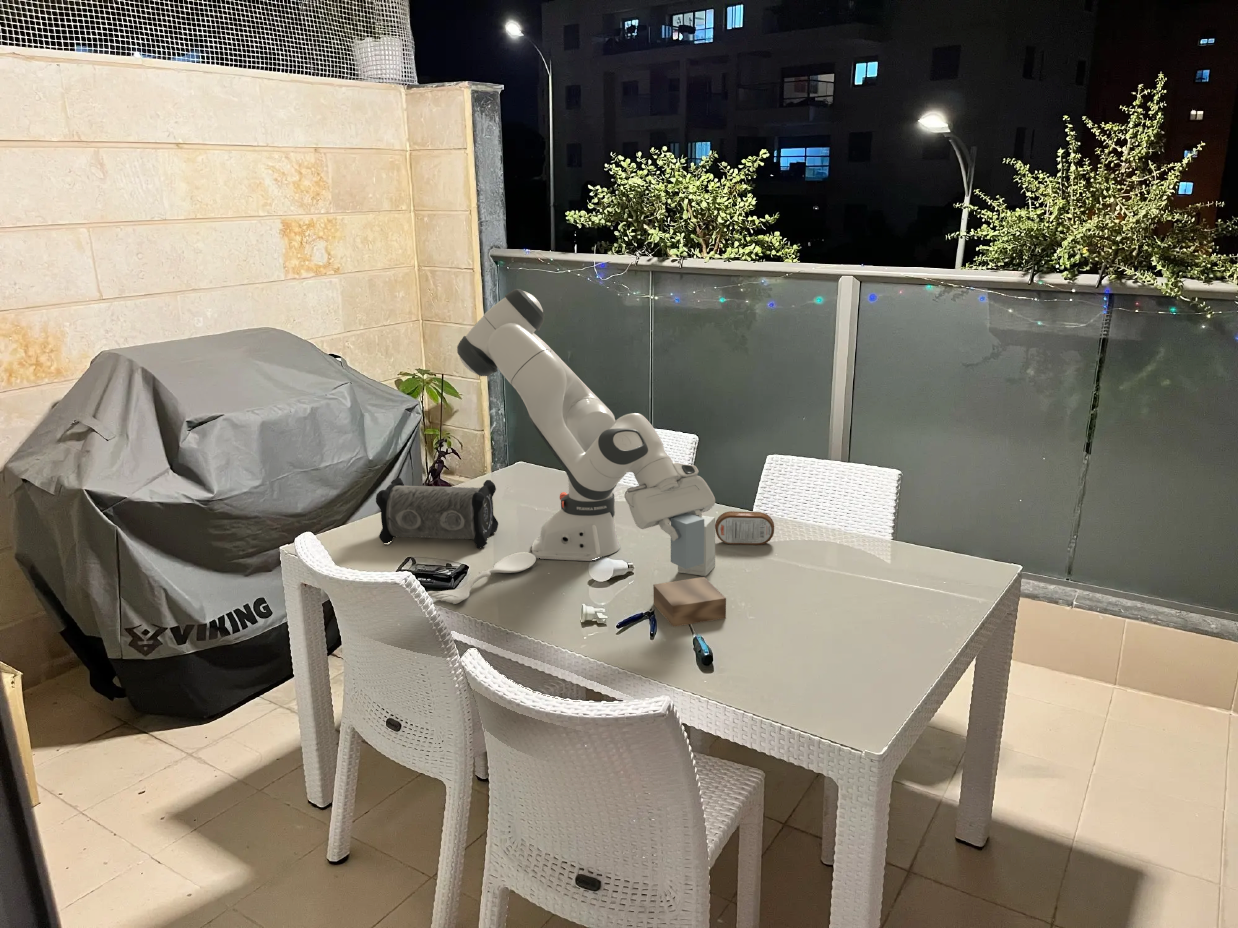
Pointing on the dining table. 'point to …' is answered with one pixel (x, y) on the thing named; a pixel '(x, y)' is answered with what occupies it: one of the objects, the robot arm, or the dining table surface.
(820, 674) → the dining table surface
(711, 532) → the supplement box
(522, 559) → the spoon
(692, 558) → the slate block
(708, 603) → the walnut block
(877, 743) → the dining table surface
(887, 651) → the dining table surface
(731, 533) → the tin
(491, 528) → the speaker
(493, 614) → the dining table surface
